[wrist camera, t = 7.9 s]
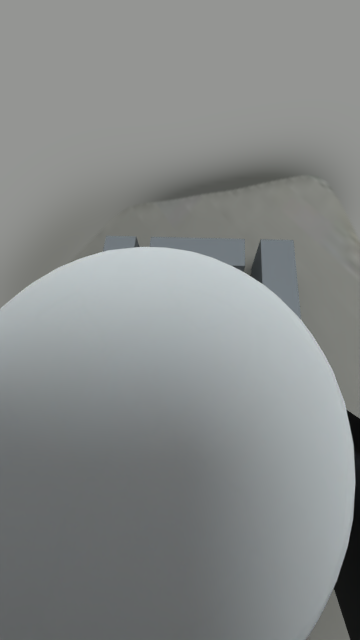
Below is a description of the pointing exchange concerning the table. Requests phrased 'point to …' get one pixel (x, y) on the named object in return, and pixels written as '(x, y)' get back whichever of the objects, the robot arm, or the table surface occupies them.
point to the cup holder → (236, 259)
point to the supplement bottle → (166, 456)
